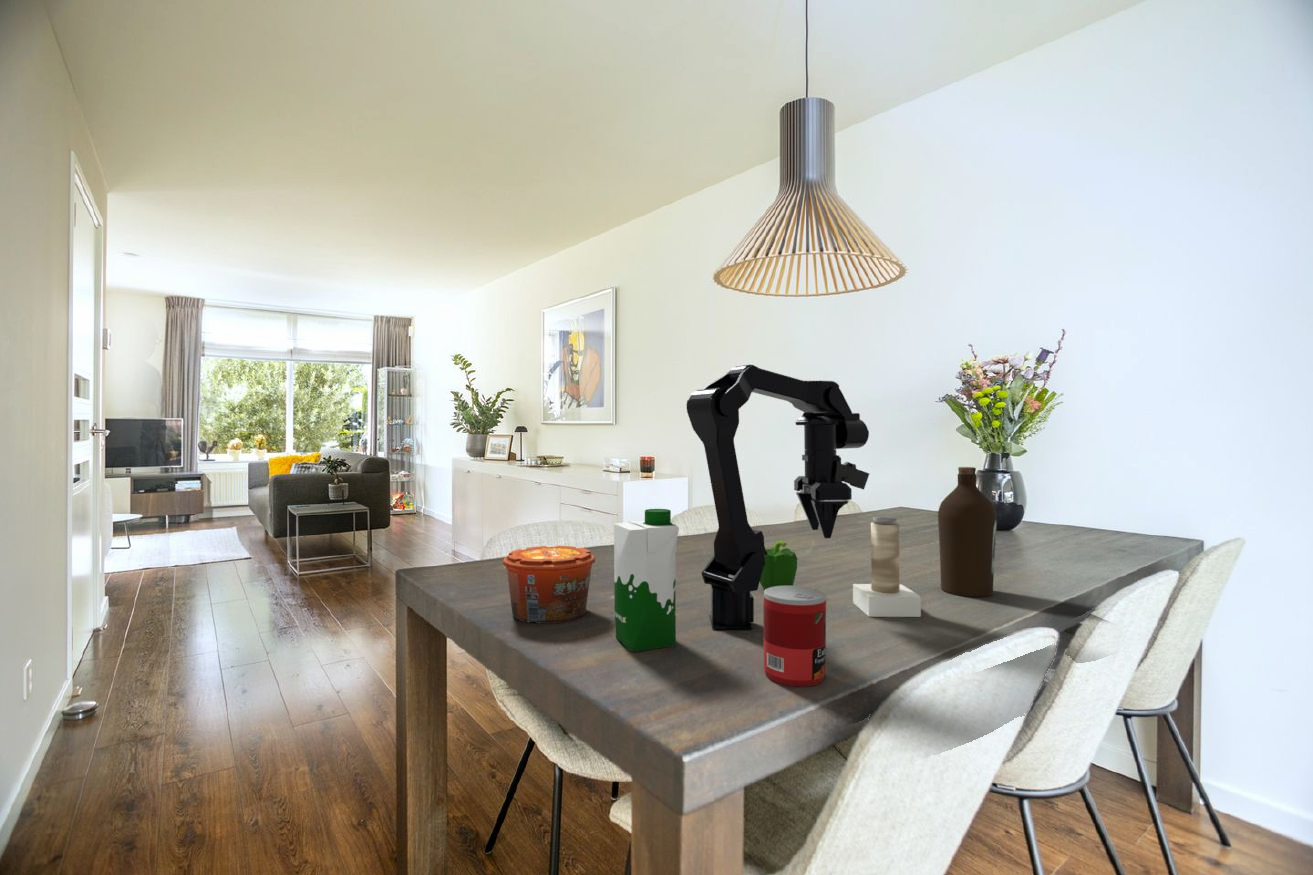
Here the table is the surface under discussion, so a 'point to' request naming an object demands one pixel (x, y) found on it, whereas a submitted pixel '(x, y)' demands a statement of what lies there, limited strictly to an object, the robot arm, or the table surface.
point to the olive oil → (967, 539)
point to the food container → (549, 582)
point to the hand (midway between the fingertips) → (821, 533)
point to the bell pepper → (779, 567)
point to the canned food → (794, 635)
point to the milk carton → (645, 581)
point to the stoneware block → (887, 602)
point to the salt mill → (885, 555)
